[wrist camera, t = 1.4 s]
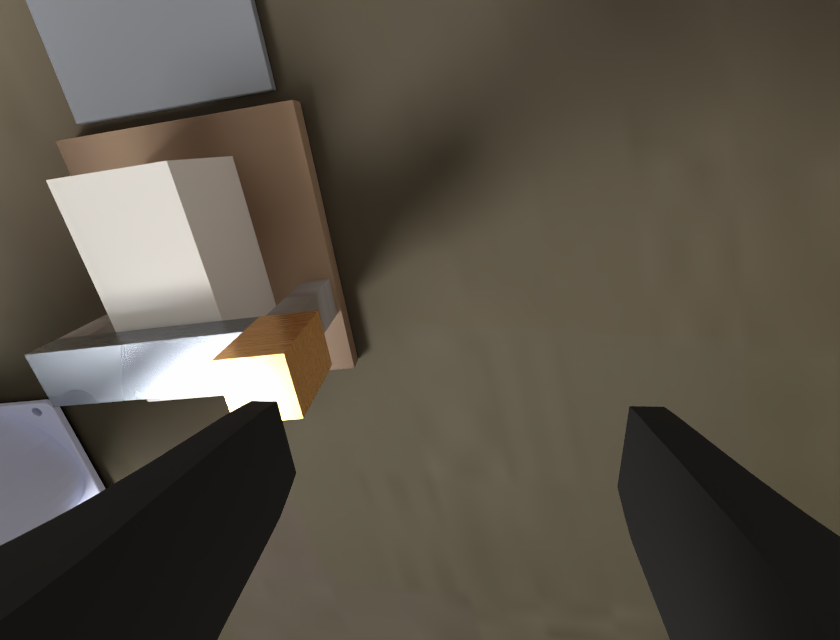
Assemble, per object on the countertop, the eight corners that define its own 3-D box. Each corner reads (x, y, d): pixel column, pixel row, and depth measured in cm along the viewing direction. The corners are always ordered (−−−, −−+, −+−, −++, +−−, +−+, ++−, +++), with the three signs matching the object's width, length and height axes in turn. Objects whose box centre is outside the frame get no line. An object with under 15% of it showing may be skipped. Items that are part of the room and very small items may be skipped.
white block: (205, 352, 19) (148, 402, 16) (136, 171, 16) (46, 180, 13) (287, 344, 19) (247, 393, 15) (232, 156, 16) (166, 160, 12)
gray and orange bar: (82, 387, 15) (1, 441, 13) (56, 338, 15) (-36, 384, 12) (331, 364, 14) (303, 418, 11) (318, 310, 13) (283, 353, 11)
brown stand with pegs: (172, 376, 21) (98, 439, 17) (72, 141, 17) (-61, 140, 13) (358, 359, 20) (330, 421, 16) (299, 101, 16) (240, 86, 11)
